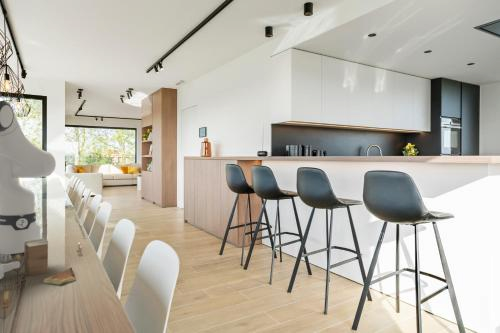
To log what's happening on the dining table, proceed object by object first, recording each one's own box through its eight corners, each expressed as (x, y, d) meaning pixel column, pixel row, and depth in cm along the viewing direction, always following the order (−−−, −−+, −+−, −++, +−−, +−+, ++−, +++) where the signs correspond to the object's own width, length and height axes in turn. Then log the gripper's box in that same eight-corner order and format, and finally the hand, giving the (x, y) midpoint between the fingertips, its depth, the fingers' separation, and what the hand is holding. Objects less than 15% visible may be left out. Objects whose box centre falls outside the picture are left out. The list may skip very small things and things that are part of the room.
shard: (71, 271, 104) (71, 266, 104) (91, 274, 103) (91, 268, 103) (42, 284, 94) (42, 278, 94) (64, 287, 92) (64, 281, 92)
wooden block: (24, 272, 102) (24, 240, 102) (42, 268, 106) (42, 237, 106) (29, 276, 99) (29, 243, 99) (47, 272, 102) (47, 240, 102)
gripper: (-41, 269, 81) (25, 257, 91) (-52, 252, 94) (6, 243, 105) (-40, 294, 81) (25, 279, 91) (-52, 274, 94) (6, 263, 105)
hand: (15, 260), depth 98 cm, fingers open, 8 cm apart
